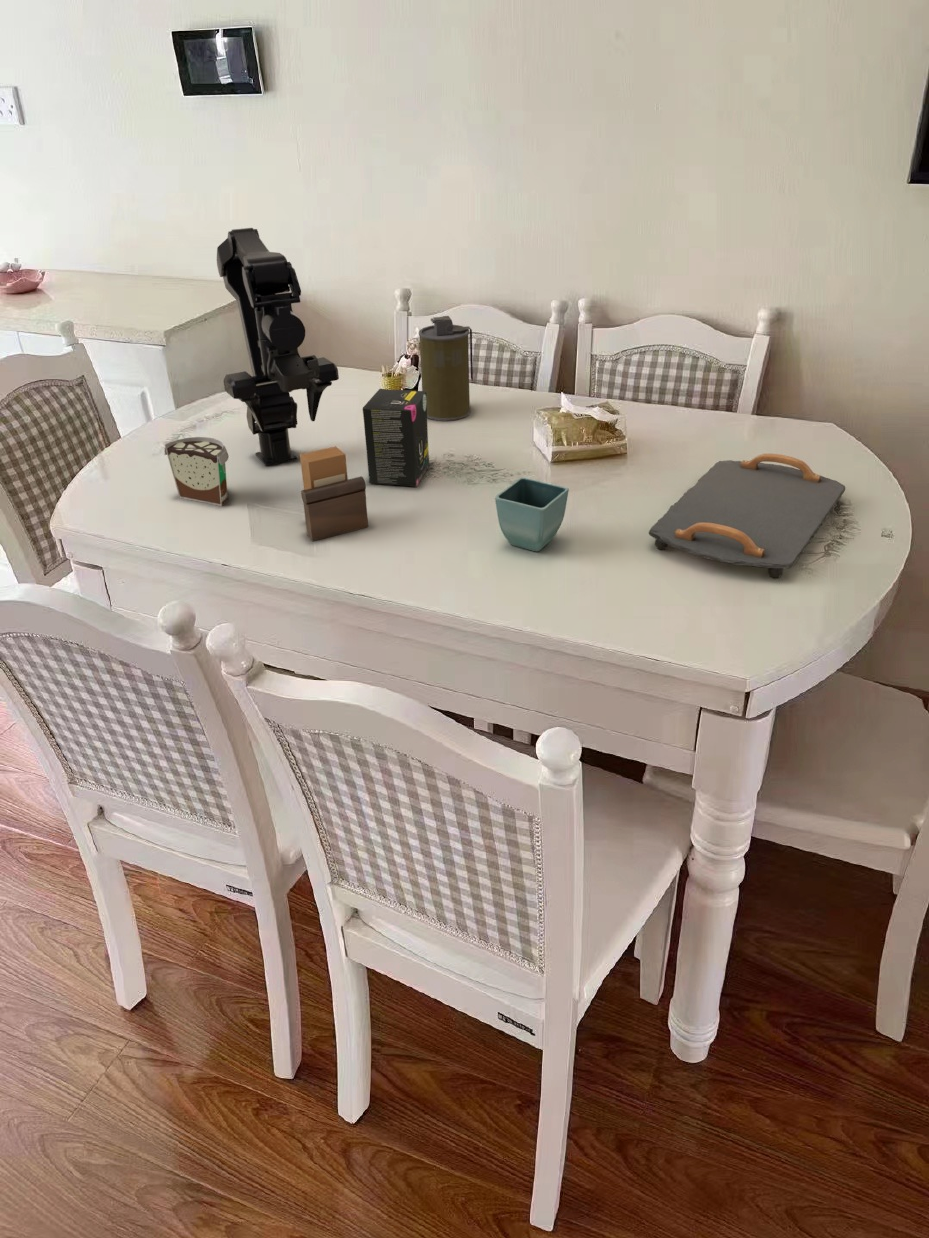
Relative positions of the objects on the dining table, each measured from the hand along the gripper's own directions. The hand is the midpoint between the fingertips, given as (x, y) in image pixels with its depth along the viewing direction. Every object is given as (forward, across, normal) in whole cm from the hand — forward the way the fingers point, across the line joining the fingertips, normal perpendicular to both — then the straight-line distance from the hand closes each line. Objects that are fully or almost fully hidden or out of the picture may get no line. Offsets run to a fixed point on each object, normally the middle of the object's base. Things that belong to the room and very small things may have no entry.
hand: (288, 426), depth 168 cm
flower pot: (+13, +25, -40) cm, 49 cm away
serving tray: (+13, +60, -52) cm, 80 cm away
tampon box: (+12, +19, -4) cm, 23 cm away
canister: (+12, +42, +20) cm, 48 cm away
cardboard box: (+12, 0, -16) cm, 20 cm away
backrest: (+12, 0, -19) cm, 23 cm away
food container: (+12, -14, +6) cm, 20 cm away
